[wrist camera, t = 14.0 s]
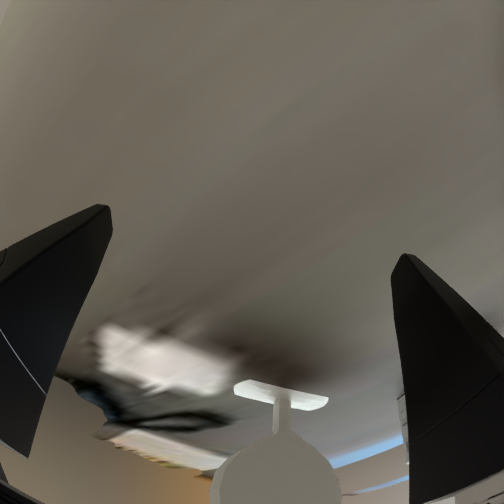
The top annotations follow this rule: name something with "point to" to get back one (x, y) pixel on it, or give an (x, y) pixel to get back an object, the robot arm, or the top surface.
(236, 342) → the top surface
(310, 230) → the top surface
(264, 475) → the heart sculpture
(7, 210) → the top surface
